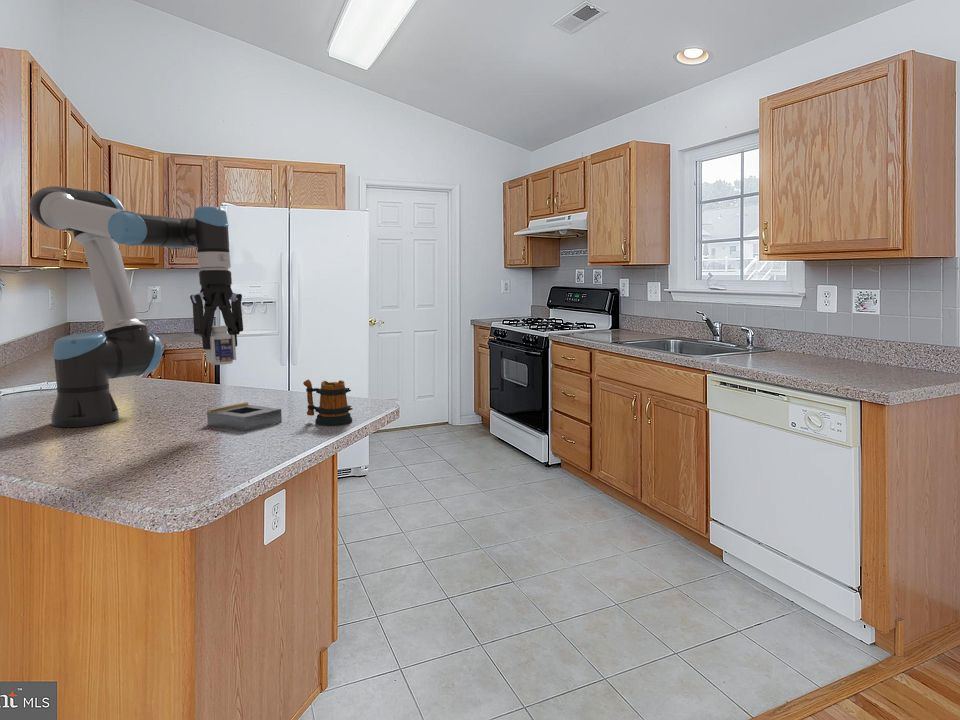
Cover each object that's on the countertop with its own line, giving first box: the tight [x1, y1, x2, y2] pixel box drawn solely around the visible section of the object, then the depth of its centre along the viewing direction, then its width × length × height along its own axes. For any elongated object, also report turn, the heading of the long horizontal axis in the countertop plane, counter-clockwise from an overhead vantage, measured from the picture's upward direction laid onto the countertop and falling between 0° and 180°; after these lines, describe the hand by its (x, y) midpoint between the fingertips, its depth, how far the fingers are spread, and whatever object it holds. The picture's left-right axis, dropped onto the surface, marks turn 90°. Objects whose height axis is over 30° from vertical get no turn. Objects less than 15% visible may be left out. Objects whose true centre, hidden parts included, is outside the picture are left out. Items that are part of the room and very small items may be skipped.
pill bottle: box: [209, 325, 234, 366], centre depth 158 cm, size 5×5×10 cm
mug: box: [302, 379, 353, 427], centre depth 163 cm, size 13×10×12 cm
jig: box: [206, 401, 283, 432], centre depth 162 cm, size 14×12×4 cm
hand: (221, 360), depth 158 cm, fingers closed on pill bottle, 5 cm apart
